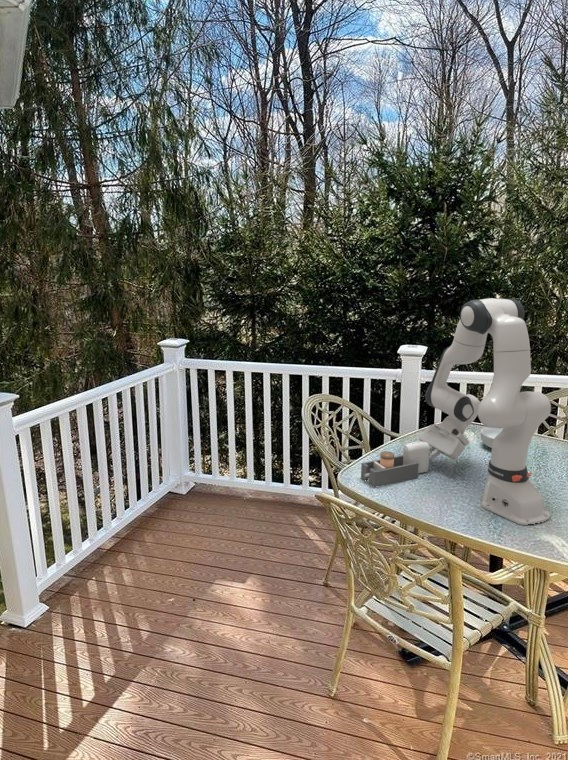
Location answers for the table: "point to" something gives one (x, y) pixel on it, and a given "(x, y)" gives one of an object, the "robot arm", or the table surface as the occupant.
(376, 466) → the pusher
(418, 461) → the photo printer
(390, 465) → the jar
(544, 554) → the table surface
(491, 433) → the cereal bowl
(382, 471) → the lane
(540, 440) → the table surface
